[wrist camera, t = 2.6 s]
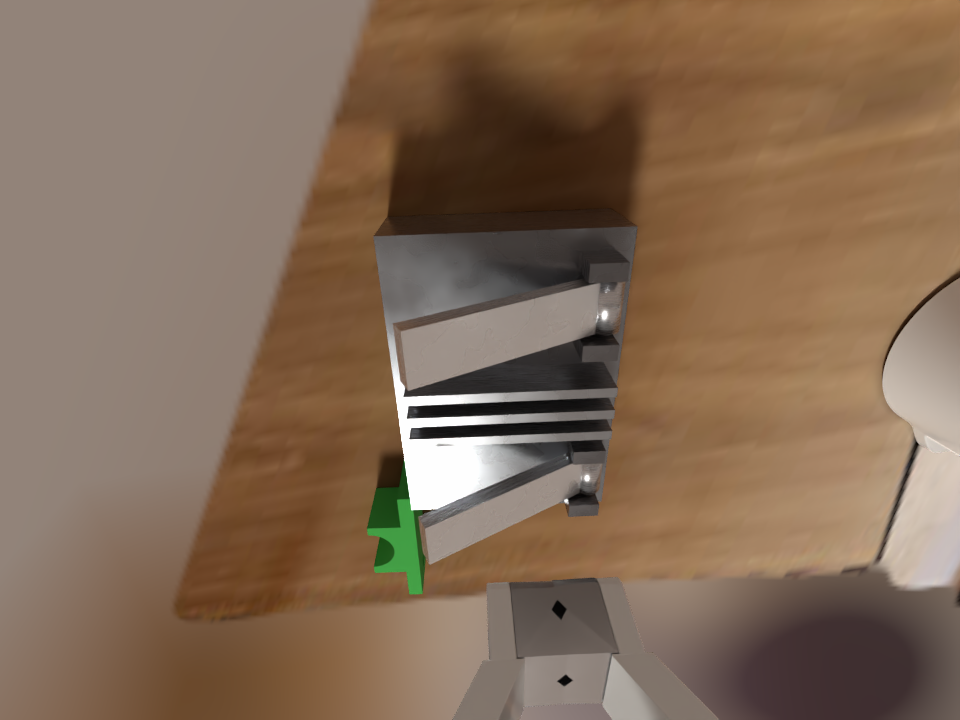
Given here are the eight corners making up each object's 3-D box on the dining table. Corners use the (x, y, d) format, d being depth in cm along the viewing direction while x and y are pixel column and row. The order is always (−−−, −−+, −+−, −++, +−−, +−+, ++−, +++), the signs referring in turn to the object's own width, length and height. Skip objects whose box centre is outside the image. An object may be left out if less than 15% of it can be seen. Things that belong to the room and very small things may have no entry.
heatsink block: (610, 208, 29) (658, 240, 22) (585, 456, 39) (612, 533, 31) (387, 216, 29) (362, 251, 22) (417, 464, 38) (407, 543, 31)
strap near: (609, 271, 26) (633, 279, 25) (603, 319, 27) (626, 330, 26) (391, 321, 21) (405, 336, 19) (398, 379, 22) (413, 397, 21)
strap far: (591, 440, 32) (609, 454, 30) (587, 473, 33) (604, 488, 32) (416, 514, 26) (429, 536, 25) (421, 549, 28) (433, 572, 26)
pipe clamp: (372, 459, 38) (361, 500, 34) (417, 457, 38) (412, 498, 34) (386, 551, 44) (378, 597, 40) (426, 550, 44) (422, 595, 40)
